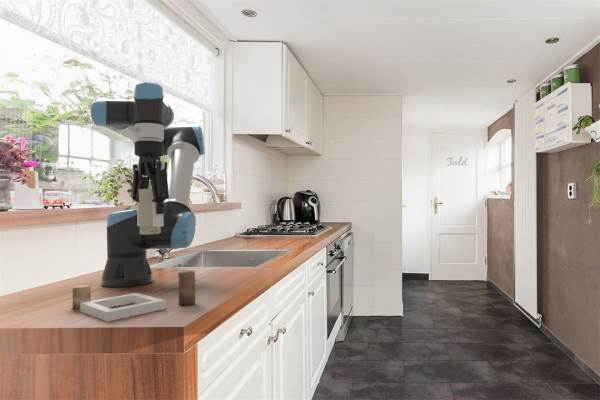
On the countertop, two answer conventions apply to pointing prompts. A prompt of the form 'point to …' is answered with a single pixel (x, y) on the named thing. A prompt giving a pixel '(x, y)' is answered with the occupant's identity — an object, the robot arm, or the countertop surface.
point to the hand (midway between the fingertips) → (150, 226)
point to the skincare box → (146, 213)
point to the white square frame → (106, 313)
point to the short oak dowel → (81, 295)
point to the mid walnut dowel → (186, 288)
